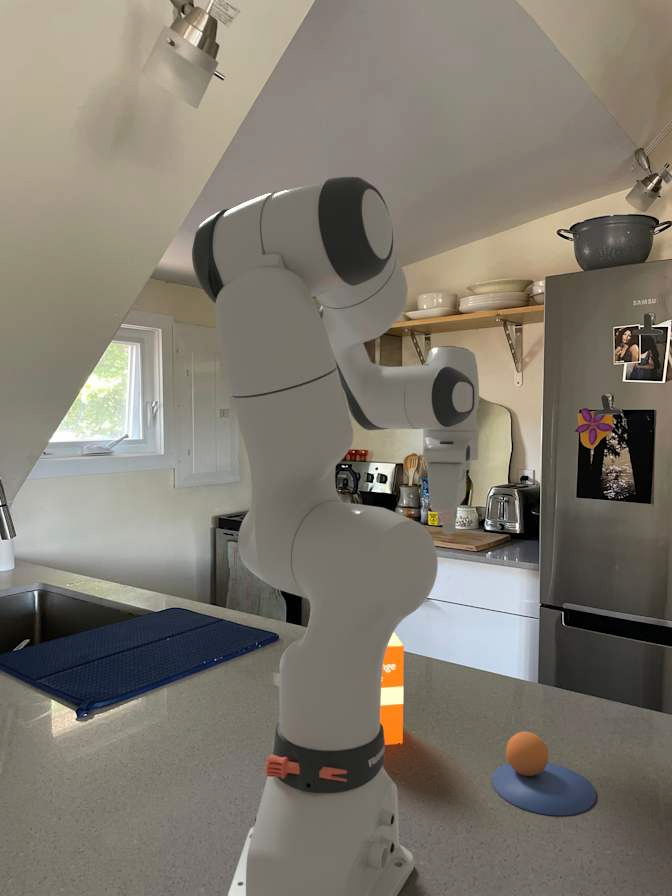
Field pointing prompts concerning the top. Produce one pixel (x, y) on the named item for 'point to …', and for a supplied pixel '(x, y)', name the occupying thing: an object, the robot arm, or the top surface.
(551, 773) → the blue flat disc
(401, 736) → the orange juice
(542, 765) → the ball
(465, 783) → the top surface
